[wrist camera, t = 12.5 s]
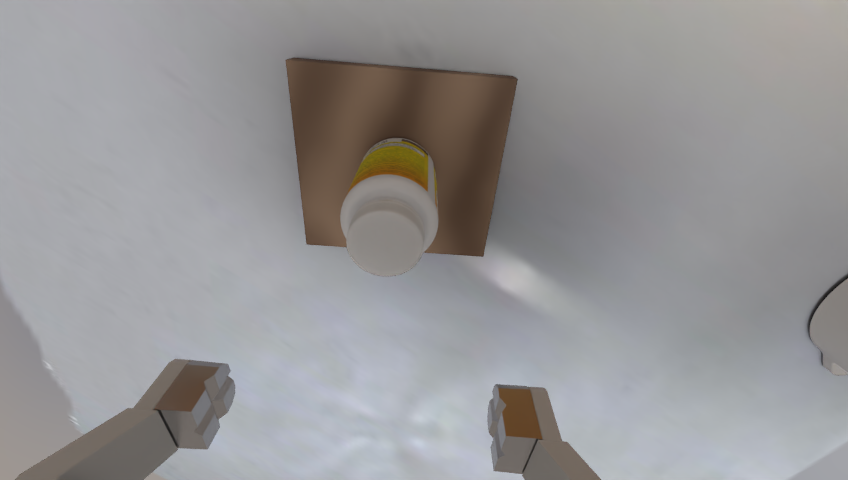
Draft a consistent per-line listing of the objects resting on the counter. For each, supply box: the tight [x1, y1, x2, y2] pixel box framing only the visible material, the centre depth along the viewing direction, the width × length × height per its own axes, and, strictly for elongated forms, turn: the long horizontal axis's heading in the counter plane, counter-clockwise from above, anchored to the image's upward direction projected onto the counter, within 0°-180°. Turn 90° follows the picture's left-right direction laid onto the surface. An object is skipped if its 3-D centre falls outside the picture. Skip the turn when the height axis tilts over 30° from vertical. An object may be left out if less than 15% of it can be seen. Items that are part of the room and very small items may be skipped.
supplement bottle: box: [340, 138, 438, 276], centre depth 23 cm, size 6×6×10 cm
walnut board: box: [286, 58, 518, 257], centre depth 28 cm, size 15×14×2 cm
